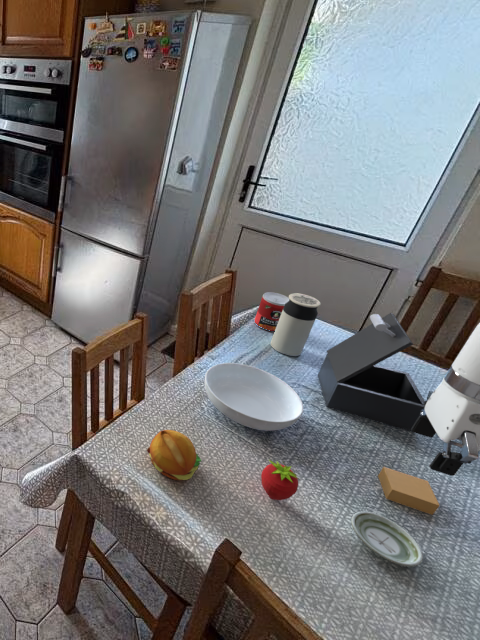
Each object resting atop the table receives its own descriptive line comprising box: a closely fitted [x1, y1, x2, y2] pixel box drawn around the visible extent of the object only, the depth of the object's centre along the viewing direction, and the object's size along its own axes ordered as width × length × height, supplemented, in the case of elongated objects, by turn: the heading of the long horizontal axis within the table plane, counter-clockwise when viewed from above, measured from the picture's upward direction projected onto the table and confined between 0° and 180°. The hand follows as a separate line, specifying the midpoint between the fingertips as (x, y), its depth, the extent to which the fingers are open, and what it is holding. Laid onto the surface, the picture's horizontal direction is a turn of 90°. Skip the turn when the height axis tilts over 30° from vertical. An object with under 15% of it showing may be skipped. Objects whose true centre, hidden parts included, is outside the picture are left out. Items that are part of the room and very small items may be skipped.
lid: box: [326, 312, 414, 383], centre depth 104 cm, size 18×14×5 cm
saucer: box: [350, 510, 424, 567], centre depth 76 cm, size 10×10×2 cm
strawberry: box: [260, 459, 299, 501], centre depth 83 cm, size 6×8×10 cm
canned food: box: [254, 291, 289, 332], centre depth 137 cm, size 8×8×11 cm
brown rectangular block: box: [377, 466, 440, 516], centre depth 85 cm, size 7×6×3 cm
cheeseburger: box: [146, 429, 203, 482], centre depth 90 cm, size 10×11×10 cm
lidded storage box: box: [317, 353, 426, 433], centre depth 107 cm, size 17×14×8 cm
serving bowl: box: [204, 362, 304, 432], centre depth 105 cm, size 21×21×7 cm
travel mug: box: [269, 292, 321, 357], centre depth 125 cm, size 8×8×18 cm
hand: (430, 451), depth 80 cm, fingers open, 9 cm apart
